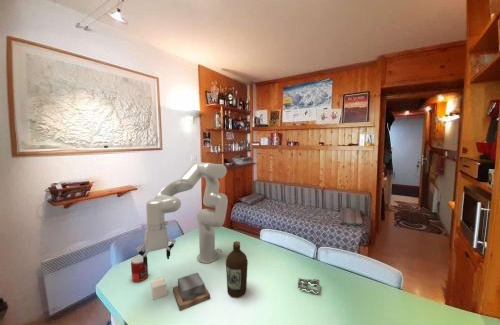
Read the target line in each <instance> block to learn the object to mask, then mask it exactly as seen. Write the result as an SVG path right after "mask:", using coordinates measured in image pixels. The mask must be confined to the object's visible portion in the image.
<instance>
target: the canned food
mask: <svg viewBox="0 0 500 325" xmlns="http://www.w3.org/2000/svg"><path fill="white" fill-rule="evenodd" d="M148 265H149V264H148V262H147V265H145V263H143V256H141V255H140V254H139V255H136V256H134V257H132V258H131V260H130V269H131V279H132V281H133V283H140V282H143V281H145V280H146V279H147V278H148V276H149V269H148V268H149V267H148Z"/></svg>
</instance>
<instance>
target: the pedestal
mask: <svg viewBox="0 0 500 325" xmlns="http://www.w3.org/2000/svg"><path fill="white" fill-rule="evenodd" d="M172 293H173V296H174V299H175V301H176V304H177V307H178V310H179V311H180V312H181V311H183V310H185V309H188V308H190V307H193V306H195V305H198V304H201V303H202V302H205V301H208V300H210V299H211V294H210V292H209V290H208V288H207V287H206V285H205V282H204V281H203V279H202V277H201V275H200V273H199V272H196V273H192V274H189V275H185V276H183V277H180V278H177V285H176V286H173V287H172Z"/></svg>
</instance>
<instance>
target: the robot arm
mask: <svg viewBox="0 0 500 325" xmlns="http://www.w3.org/2000/svg"><path fill="white" fill-rule="evenodd" d="M227 172H228V171H227V166H226V165H224V164H222V163H212V162H200V161H197V162H194V163H193V164H192V165H190V167H189V168H188V169H187V170H186V171H185V172H184V173H183V174H182V176H181V177H180V178H178V179H176V180H174V181H172V182H170V183H169V184H167V185H166V186H164V187H163V188H161V190H160V191H158V193H157V194H156V195H155V197H154V199H150V200H148V201H147V202H146V207H145V208H146V228H145V231H144V242H142V243H141V244H139V245H138V246H137V247H136V248H135V251H136V252H137V253H138V254H139V255H141V256H143V263H145V265H147V263H148V254H149V253H151V252H156V251H161V250H164V249H166V250H165V252H166V258H167V260H170V257H171V250H172V249H173V248H174V245H175V244H176V241H177V240H176V239H175V238H172V237H169V235H168V234H169V233H168V230H167V225H169V222H168V220H167V221H165V214H170V213H175V212H176V211H178V210H179V209H180V208H181V205H182V202H181V200H180V199H179V198H178V197H176V196H175V195H177V194H180V193H183V192H187V191H190V190H193V188H195V186H196V184H197V183H198V182H199V181H200V180H201V179H202V178H204V179H205V189H204V194H203V200H202V204H203V205H204V206H205V207H208V208H202V209H200V210H198V213H197V215H196V216H197V217H196V219H197V223H198V232H199V234H198V236H199V237H198V238H199V242H198V243H199V254H198V255H197V258H196V259H197V261H198V262H199V263H201V264H211V263H214V262H216V260H217V259H218V254H220V253H223V249H222V248H221V249H219V248H216V241H215V240H216V232H215V228H221V227H223V225H224V223H225V220H226V216H227V209H228V203H229V201H228V196H227V194H225V193H221V192H219V191H220V181H219V179H223V178H225V177H226V174H227ZM210 208H213V209H210ZM169 242H171V243H170V244H169ZM143 248H144V250H141V249H143Z"/></svg>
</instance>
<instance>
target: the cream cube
mask: <svg viewBox="0 0 500 325" xmlns="http://www.w3.org/2000/svg"><path fill="white" fill-rule="evenodd" d="M150 283H151V284H150V285H151V286H150V287H151V295H152V300H153V301H154V300H157V299H160V298H162V297H166V296H167V295H168V292H167V291H168V290H167V287H168V286H167V281H166V277H165V276H163V277H158V278H156V279H152V280H151V281H150Z"/></svg>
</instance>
